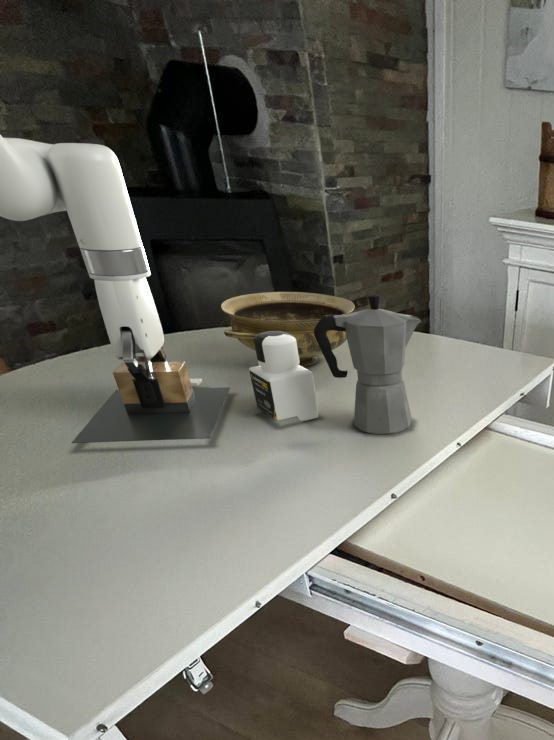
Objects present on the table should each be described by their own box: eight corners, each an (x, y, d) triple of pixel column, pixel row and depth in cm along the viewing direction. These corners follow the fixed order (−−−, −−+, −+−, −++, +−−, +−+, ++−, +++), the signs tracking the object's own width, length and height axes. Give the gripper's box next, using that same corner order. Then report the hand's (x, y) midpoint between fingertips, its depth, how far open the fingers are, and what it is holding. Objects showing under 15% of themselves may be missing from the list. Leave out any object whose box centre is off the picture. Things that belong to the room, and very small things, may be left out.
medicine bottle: (257, 414, 94) (240, 331, 86) (298, 405, 98) (285, 325, 90) (277, 428, 90) (261, 343, 82) (319, 418, 94) (307, 336, 86)
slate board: (74, 451, 81) (71, 442, 80) (118, 397, 97) (116, 389, 97) (211, 446, 84) (209, 438, 83) (232, 394, 100) (230, 387, 99)
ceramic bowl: (281, 393, 101) (269, 330, 95) (193, 366, 111) (178, 306, 104) (393, 356, 121) (391, 301, 114) (311, 335, 130) (304, 283, 124)
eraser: (127, 414, 89) (112, 372, 85) (135, 402, 92) (121, 362, 89) (190, 412, 90) (178, 371, 86) (195, 401, 94) (184, 361, 90)
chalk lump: (185, 392, 100) (182, 382, 99) (190, 387, 102) (187, 378, 101) (199, 392, 100) (197, 383, 99) (204, 388, 102) (201, 378, 101)
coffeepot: (415, 409, 98) (411, 285, 86) (431, 430, 91) (429, 299, 80) (322, 418, 94) (304, 289, 82) (332, 441, 87) (314, 304, 75)
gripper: (105, 252, 85) (147, 381, 96) (64, 275, 72) (117, 420, 84) (161, 253, 86) (195, 380, 98) (130, 275, 73) (173, 418, 85)
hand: (159, 397), depth 90 cm, fingers open, 6 cm apart
